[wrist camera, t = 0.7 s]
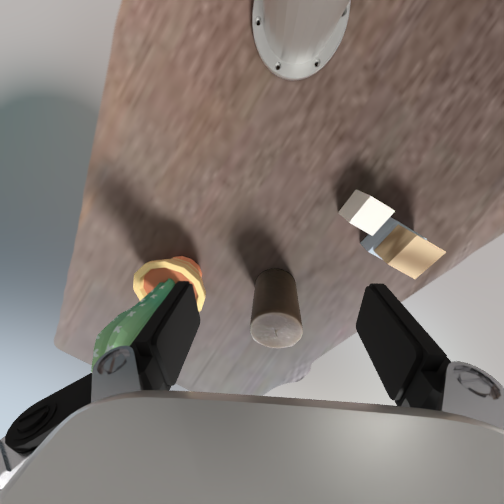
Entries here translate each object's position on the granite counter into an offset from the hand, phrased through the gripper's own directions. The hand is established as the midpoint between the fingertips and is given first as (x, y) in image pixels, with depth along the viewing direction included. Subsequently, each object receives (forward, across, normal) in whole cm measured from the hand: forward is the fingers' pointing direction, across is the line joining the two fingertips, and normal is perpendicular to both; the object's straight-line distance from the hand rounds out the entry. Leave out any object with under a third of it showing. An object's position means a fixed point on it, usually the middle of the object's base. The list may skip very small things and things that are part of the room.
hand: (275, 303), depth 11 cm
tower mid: (+27, -23, +9) cm, 36 cm away
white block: (+30, -16, +2) cm, 34 cm away
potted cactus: (+31, +21, +18) cm, 41 cm away
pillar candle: (+31, -1, +21) cm, 37 cm away
